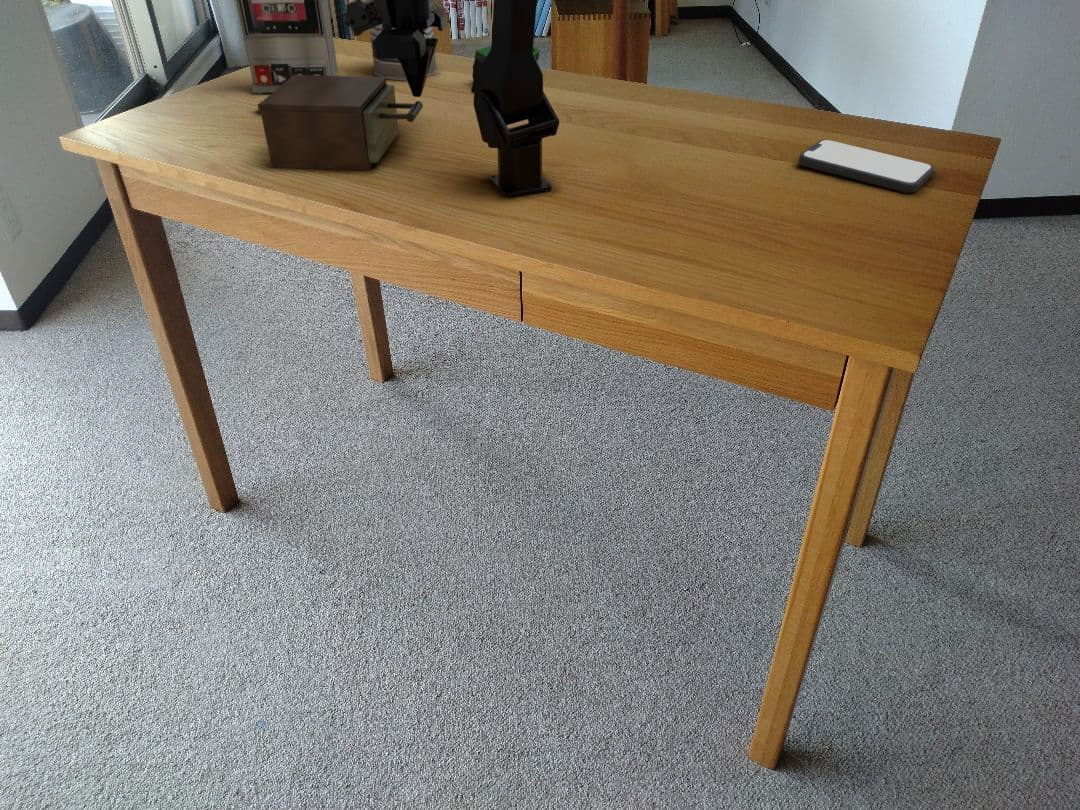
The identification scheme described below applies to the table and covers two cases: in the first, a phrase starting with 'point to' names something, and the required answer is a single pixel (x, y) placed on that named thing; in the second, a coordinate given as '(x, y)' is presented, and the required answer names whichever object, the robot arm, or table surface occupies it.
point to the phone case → (867, 166)
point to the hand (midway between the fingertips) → (417, 96)
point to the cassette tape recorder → (286, 40)
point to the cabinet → (319, 122)
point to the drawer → (385, 121)
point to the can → (393, 66)
